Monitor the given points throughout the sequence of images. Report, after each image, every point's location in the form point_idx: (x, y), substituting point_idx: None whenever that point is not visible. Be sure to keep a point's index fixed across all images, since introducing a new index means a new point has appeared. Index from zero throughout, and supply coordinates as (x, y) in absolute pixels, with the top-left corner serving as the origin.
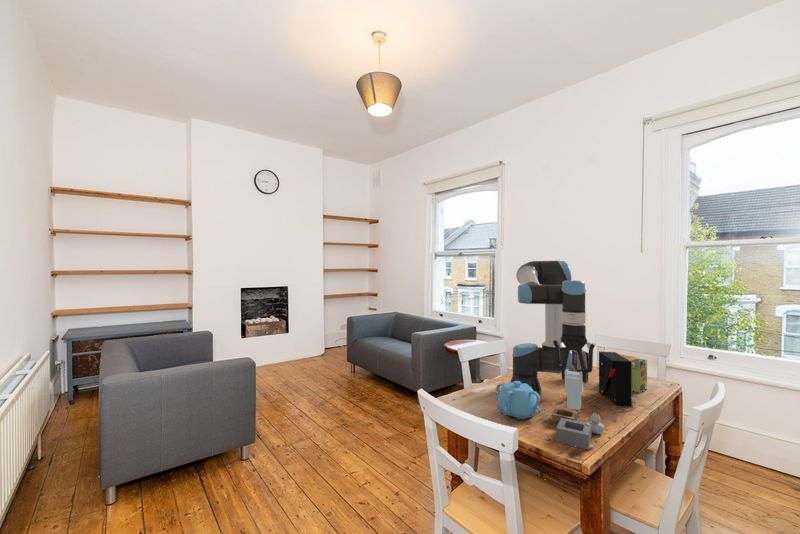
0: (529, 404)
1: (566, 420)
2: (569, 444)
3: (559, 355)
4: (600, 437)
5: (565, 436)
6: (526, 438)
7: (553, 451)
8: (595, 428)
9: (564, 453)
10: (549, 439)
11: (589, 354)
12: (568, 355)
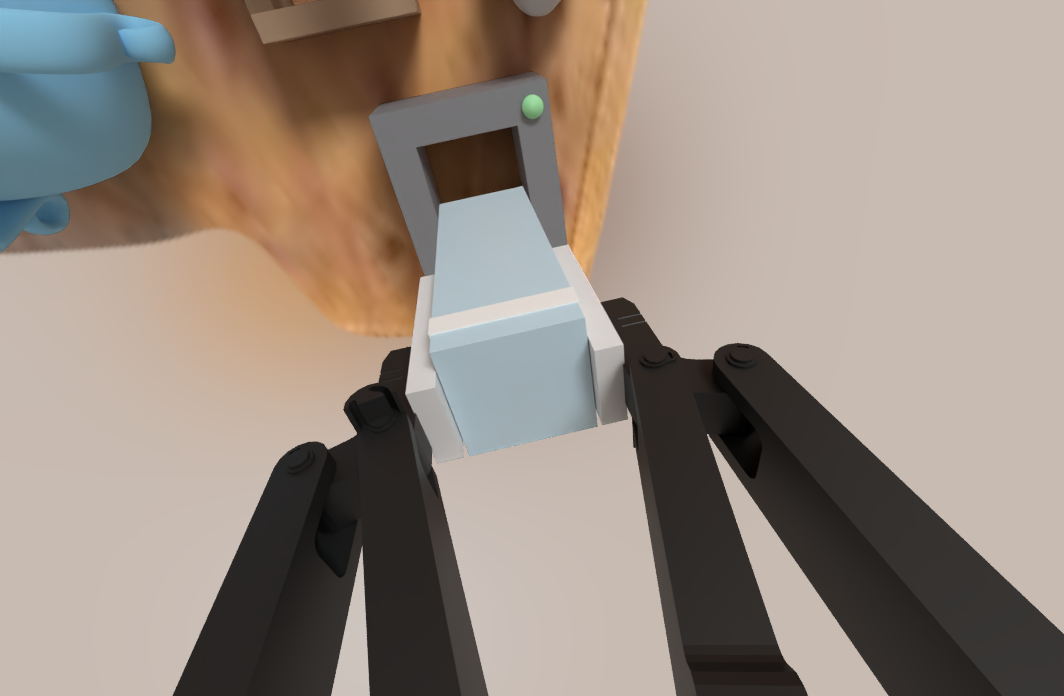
0: (97, 122)
1: (413, 137)
2: None
3: (309, 680)
4: (568, 16)
5: None
6: (324, 306)
7: None
8: (550, 10)
9: None
10: (393, 245)
11: (903, 685)
12: (469, 657)
